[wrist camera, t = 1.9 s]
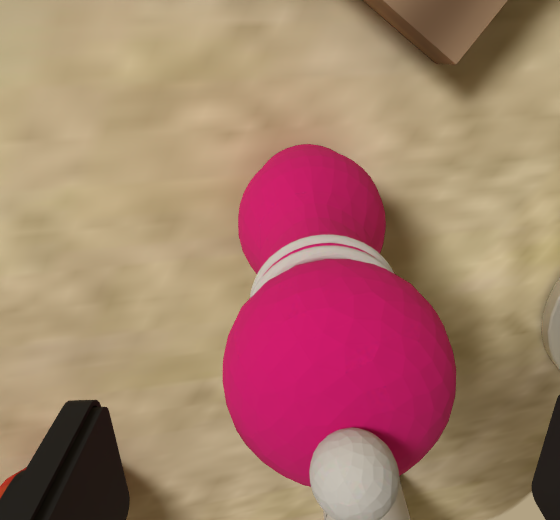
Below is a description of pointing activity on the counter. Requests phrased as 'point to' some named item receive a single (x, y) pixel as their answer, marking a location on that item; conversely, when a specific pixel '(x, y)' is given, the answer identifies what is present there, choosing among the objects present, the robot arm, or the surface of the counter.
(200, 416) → the counter surface
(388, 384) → the pepper mill
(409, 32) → the walnut base
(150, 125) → the counter surface
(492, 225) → the counter surface
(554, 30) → the counter surface
